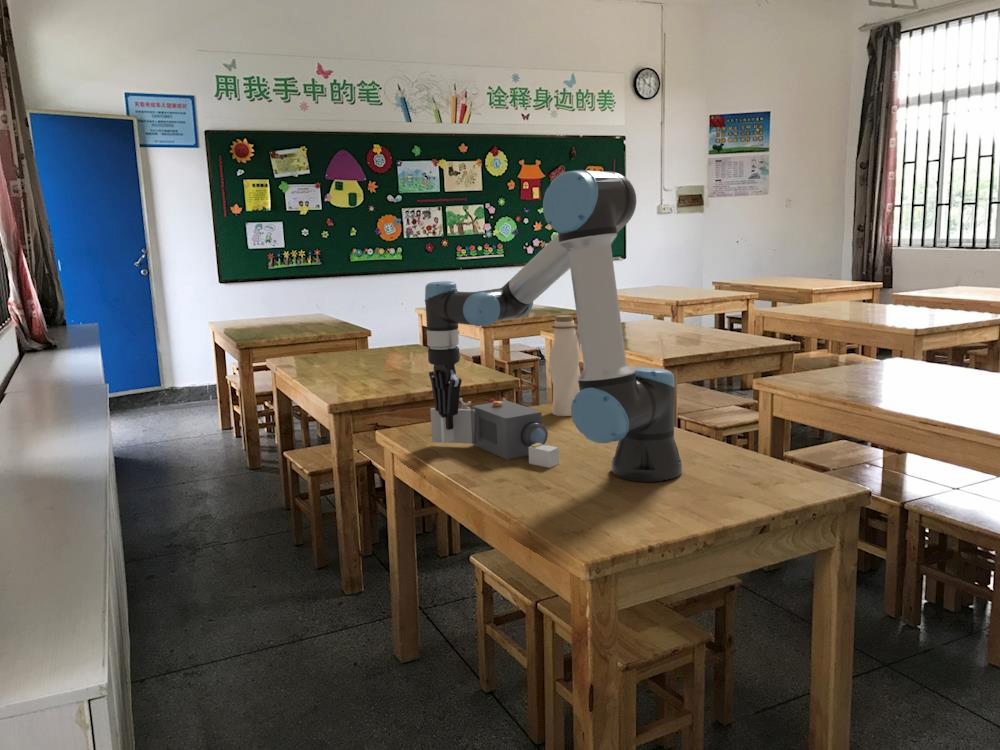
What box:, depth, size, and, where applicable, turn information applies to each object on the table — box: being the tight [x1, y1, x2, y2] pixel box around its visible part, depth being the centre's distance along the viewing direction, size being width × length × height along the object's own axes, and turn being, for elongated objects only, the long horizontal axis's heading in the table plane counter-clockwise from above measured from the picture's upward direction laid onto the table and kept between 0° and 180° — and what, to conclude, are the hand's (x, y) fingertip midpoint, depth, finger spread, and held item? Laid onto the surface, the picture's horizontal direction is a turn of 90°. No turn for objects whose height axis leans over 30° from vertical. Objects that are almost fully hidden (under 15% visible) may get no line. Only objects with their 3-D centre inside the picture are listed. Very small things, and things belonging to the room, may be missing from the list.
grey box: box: [471, 399, 549, 461], centre depth 198 cm, size 19×10×11 cm, turn 31°
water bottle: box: [548, 314, 582, 417], centre depth 231 cm, size 10×9×28 cm
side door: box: [429, 407, 477, 445], centre depth 203 cm, size 12×2×8 cm, turn 74°
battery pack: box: [528, 443, 560, 469], centre depth 187 cm, size 6×4×4 cm, turn 50°
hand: (447, 441), depth 200 cm, fingers closed
